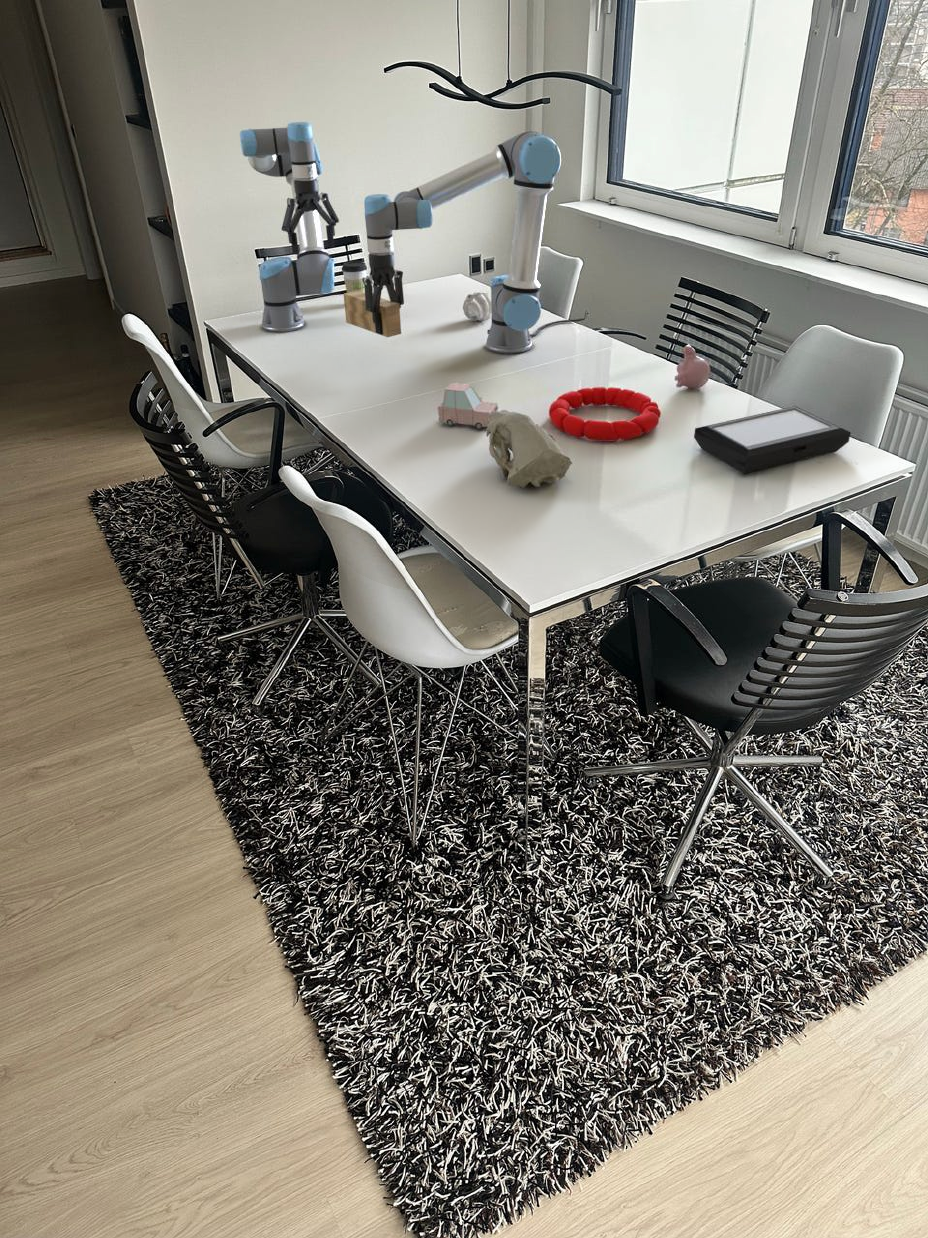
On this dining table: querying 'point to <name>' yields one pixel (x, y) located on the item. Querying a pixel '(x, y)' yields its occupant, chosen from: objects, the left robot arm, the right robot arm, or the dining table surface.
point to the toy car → (465, 406)
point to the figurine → (692, 370)
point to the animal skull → (525, 450)
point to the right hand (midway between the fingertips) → (387, 331)
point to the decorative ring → (604, 428)
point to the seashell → (477, 306)
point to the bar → (364, 318)
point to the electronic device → (771, 439)
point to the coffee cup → (354, 275)
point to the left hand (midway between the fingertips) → (313, 250)
